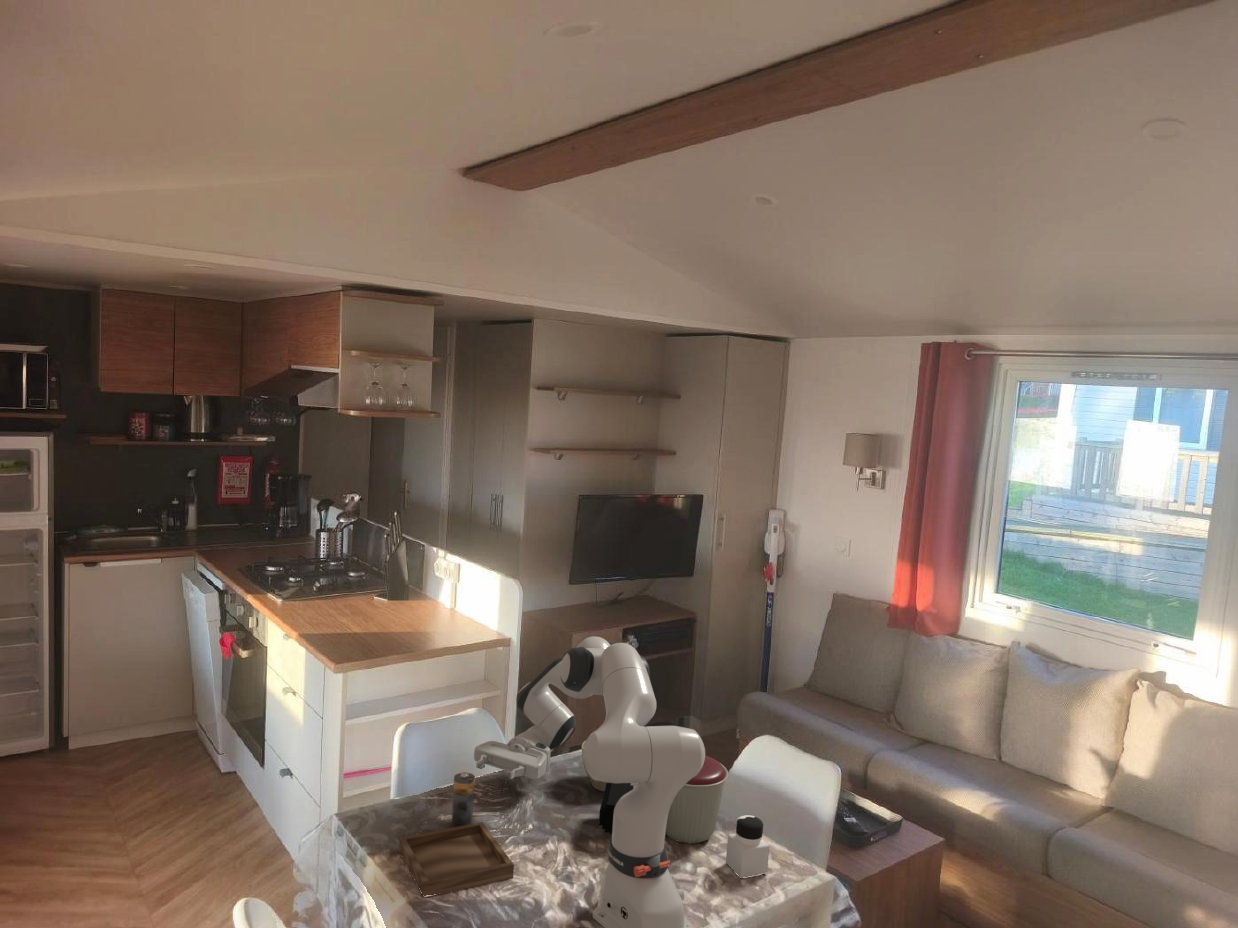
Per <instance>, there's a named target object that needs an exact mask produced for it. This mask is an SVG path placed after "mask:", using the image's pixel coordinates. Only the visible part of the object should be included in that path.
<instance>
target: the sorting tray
mask: <svg viewBox="0 0 1238 928" xmlns="http://www.w3.org/2000/svg"><path fill="white" fill-rule="evenodd" d="M399 850H400V852H399V854H400V853H401V854H400V856H401V855H402V856H403V858H404V860H405V862H406V864H407V865H406V864H405V865H406V867H407V866H408V867H407V869H408V868H409V869H408V871H409V870H410V871H409V873H410V872H411V873H410V875H411V874H412V875H411V877H412V876H413V877H412V879H413V878H414V879H415V881H416V883H417V885H418V887H419V888H420V890H421V892H422V894H423V895H424V896H426V895H434V894H439V893H444V894H447V893H446V892H448V893H452V892H451V891H453V892H457V891H461V890H465V889H470V888H474V887H478V886H482V885H487V884H492V883H496V882H500V881H504V880H509V879H512V878H514V871H515V870H514V869H515V864H514V863H513V861H512V860H511V859H510V858H509V856H508V854H507V853H506V851H505V850H504V849H503V848H502V846H501V845H500V843H499V842H498V841H497V839H496V838H495V837H494V836H493V834H492V833H491V832H490V830H489V829H488V827H487V826H486V824H485V823H484V822H483V821H482V822H481V821H480V822H476V823H472V824H469V825H464V826H459V827H454V828H453V827H449V828H445V829H438V830H432V831H429V832H423V833H419V834H413V835H408V836H404V837H402V836H401V837H399V840H398V851H399ZM402 856H401V857H402ZM403 858H402V859H403ZM404 860H403V861H404ZM405 862H404V863H405ZM414 879H413V880H414ZM415 881H414V882H415ZM416 883H415V884H416ZM417 885H416V886H417ZM418 887H417V888H418ZM419 888H418V889H419ZM420 890H419V891H420ZM421 892H420V893H421ZM422 894H421V895H422Z"/></svg>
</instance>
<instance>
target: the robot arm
mask: <svg viewBox="0 0 1238 928" xmlns="http://www.w3.org/2000/svg"><path fill="white" fill-rule="evenodd" d="M650 674H651V672H650V665H649V663H648V661H647V659H646V658H645V657H643V656H642V655H640V654H639V652H638V651H637V649H636V648H635V647H634V646H632V645H631V644H629V643H626V642H616V643H613V644H610V643H609V641H607V640H606V639H605V638H603V637H600V636H595V635H594V636H589V637H587V638H585V639H583V640H582V641H581V642H579V644H578V645H577V646H576V647H571V648H569V649H568V650H567V651H565V653H564V655H563V656H559V657H558V658H555V659H554V660H553V661H551V662H550V663H549V664H547V666H545V667H544V668H542V670H541V671H540V672H539V673H538V674H536V676H535V677H534V678H532V680H531V681H529V682H527V683H526V684H525V685H523V687H521V689H520V690H519V691H518V693H517V694H516V702H515V704H516V708H517V709H518V710H519V711H520V712H521V713H522V714H524V715H525V716H526V717H527V718H528V719H529V720H530V722H531V723H532V724H533V725H532V726H531V727H529V728H528V729H526V731H523V732H521V733H519V734H518V735H516V736H514V737H513V738H511V739H510V740H509V741H508V742H507V743H502V742H500V741H497V740H489V741H486V742H483V743H481V744H478V745H477V746H475V747H474V750H473V751H474V752H473V758H474V759H473V760H474V761H475V762H476V766H475V767H476V768H477V769H480V770H483V769H484V768H485V766H486V765H487V766H491V767H493V768H497V769H500V770H504V771H506V778H508V779H511V780H513V779H514V778H516V777H517V778H518V777H525V778H529V779H532V780H538V779H540V778H541V777H543V776H544V775H545V774H546V773H547V772H548V771H549V770H550V764H551V753H552V752H553V751H554V750H556V749H558V748H559V747H561V746H563V745H564V744H565V743H566V742H567V741H569V739H570V738H571V736H572V735H573V733H574V732H575V730H576V723H577V722H576V716H575V715H574V713H573V712H572V711H571V710H570V709H569V708H568V706H567V705H566V704H565V703H563V702H562V701H561V699H560V698H559V697H558V696H557V695H556V693H554V691H552V689H551V688H550V687H549V685H550V684H551V685H552V686H554V687H556V688H557V689H558V690H560V691H561V692H562V693H564V694H565V695H566V696H569V697H571V698H574V699H587V698H589V697H591V696H593V695H598V696H603V700H604V706H605V718H604V721H603V722H602V724H601V725H600V726H599V727H598V728H596V730H594V731H592V733H590V735H588V737H587V739H586V740H585V741H586V743H585V745H584V748H583V759H582V764H583V763H584V765H583V767H584V766H585V768H584V770H585V769H586V771H587V772H588V774H589V775H590V777H591V778H592V779H593V780H597V781H602V782H608V783H615V784H617V783H631V784H637V783H638V784H637V785H636V786H635V787H633V790H631V791H630V792H628V793H626V794H625V795H623V796H622V797H621V798H620V799H619V801H618V802H617V804H616V806H615V808H614V816H613V829H612V834H611V838H610V840H609V844H608V847H607V848H608V850H607V853H608V855H607V857H608V864H607V865H606V866H607V867H606V868H605V871H604V873H603V875H602V878H601V883H600V890H599V895H598V896H599V897H598V903H597V906H595V908H594V909H593V911H592V918H593V920H595V921H596V922H597V923H598V924H599V925H601V926H602V927H603V928H693V926H692V925H691V922H689V919H688V918H687V917H686V915H685V906H684V905H685V904H684V900H685V892H684V890H683V889H682V888H677V885H676V883H675V881H674V875H673V874H672V873H670V871H669V867H670V866H671V865H670V864H669V863H671V860H669V859H668V851H667V846H666V842H665V839H666V834H665V831H666V824H667V818H668V813H669V809H670V807H671V804H672V802H673V800H674V798H675V797H676V795H677V794H678V792H679V791H680V790H681V788H682V787H683V786H684V785H685V784H686V783H687V782H688V781H689V780H690V779H692V778H693V777H695V776H696V775H697V774H698V773H699V772H700V770H701V769H702V766H703V764H704V760H705V756H706V748H705V745H704V742H703V739H702V738H701V736H700V734H699V733H698V732H697V731H696V730H695V729H693V728H689V727H683V726H678V725H654V726H653V725H651V726H646V725H647V724H649V722H650V721H651V719H653V717H654V716H655V713H656V710H657V699H656V697H655V693H654V689H653V686H652V683H651V677H650V676H651V675H650ZM586 771H585V772H586Z"/></svg>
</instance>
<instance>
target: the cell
mask: <svg viewBox="0 0 1238 928" xmlns="http://www.w3.org/2000/svg"><path fill="white" fill-rule="evenodd" d="M452 784H453V787H452V792H453V793H452V807H451V822H450V823H451V824H450V825H451V828H454V827H459V826H464V825H469V824H473V819H474V818H473V817H474V816H473V815H474V799H475V797H474V796H475V787H476V786H475V784H476V776H475V775H474V774H473V773H471V772H467V771H463V772H459V773H457V774H455V775H454V776H453V783H452Z"/></svg>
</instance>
